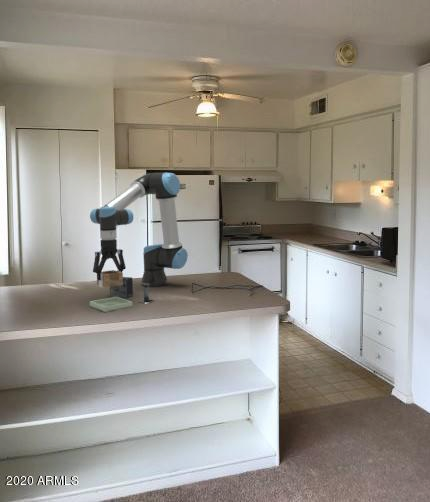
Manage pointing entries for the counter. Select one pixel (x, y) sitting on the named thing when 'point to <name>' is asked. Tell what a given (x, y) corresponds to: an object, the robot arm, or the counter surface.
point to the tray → (110, 304)
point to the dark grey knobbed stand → (146, 294)
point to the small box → (123, 289)
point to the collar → (112, 278)
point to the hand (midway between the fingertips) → (110, 285)
